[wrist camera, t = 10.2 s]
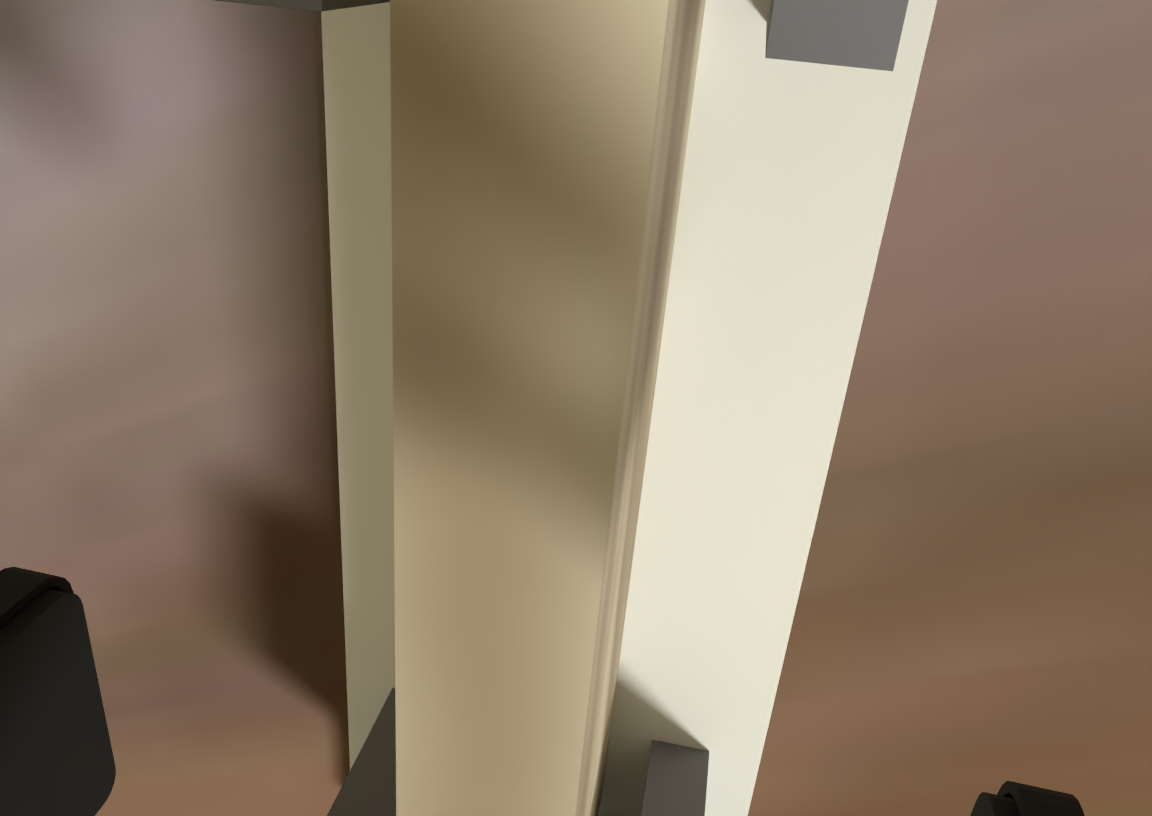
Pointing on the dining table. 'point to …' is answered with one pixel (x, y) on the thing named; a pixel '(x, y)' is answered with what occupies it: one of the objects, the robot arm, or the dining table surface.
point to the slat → (524, 378)
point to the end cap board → (661, 378)
